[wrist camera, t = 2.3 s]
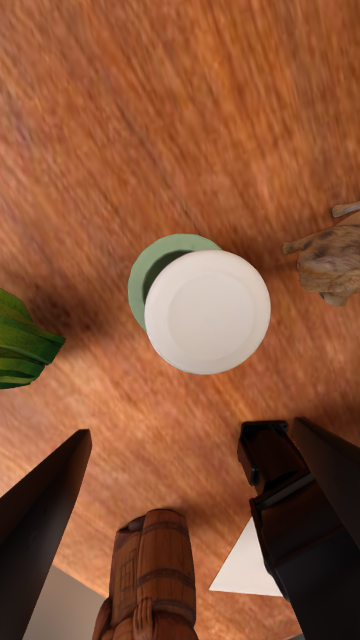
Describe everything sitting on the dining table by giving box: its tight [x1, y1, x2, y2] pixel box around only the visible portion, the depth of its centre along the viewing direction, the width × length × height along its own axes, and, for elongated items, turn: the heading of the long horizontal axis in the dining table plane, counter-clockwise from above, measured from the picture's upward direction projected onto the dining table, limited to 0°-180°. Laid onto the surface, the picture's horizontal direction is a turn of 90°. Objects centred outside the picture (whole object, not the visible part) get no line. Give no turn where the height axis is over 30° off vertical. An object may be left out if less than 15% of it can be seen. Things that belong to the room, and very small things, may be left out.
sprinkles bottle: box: [144, 249, 271, 375], centre depth 12 cm, size 5×5×13 cm
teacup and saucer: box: [209, 517, 283, 596], centre depth 30 cm, size 9×8×4 cm
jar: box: [128, 234, 223, 332], centre depth 17 cm, size 9×9×4 cm
